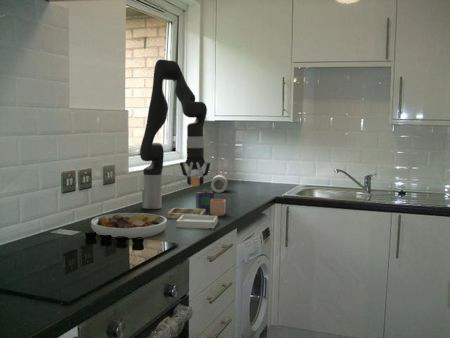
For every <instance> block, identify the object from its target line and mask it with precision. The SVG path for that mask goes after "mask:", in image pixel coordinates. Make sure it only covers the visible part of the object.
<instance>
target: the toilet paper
mask: <svg viewBox="0 0 450 338" xmlns="http://www.w3.org/2000/svg"><path fill="white" fill-rule="evenodd" d="M216 181H221V182H222V183H223V185H222V186H221V187H219V186H217V184H216ZM227 187H228V179H227V177H226V176H224V175H222V174H217V175H215V176H214V177H213V178H212V180H211V181H210V188H211V189H212V192H215V193H219V194H220V193H223V192H224V191H226V189H227Z"/></svg>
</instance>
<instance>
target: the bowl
mask: <svg viewBox="0 0 450 338" xmlns="http://www.w3.org/2000/svg"><path fill="white" fill-rule="evenodd" d="M167 219H168V218H167V217H164V216H162V215H160V214H159V215H158V214H153V213H146V212H145V213H144V212H141V213H140V212H123V213H111V214H104V215H100V216H97V217H94V218H92V220H90V226H91V229H92V231H93V232H94V233H95V232H96V234H97V235H98V236H100V235H111V236H112V237H117V236H125V237H128V238H136V237H142V238H141V239H144V238H149V237H154V236H157V235H159V234H161V233H162V232H163V231H164V230H165V229H166V227H167V224H168V223H167V222H168V220H167Z"/></svg>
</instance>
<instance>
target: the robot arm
mask: <svg viewBox="0 0 450 338" xmlns="http://www.w3.org/2000/svg"><path fill="white" fill-rule="evenodd" d="M165 80H167V81H173V82H174V83H175V86H174V93H175V96H176V98H177V99H178V100H179V102H180V104H181V108H182V112H183V113H182V114H183V115H184V116H185V117H187V118H193V119H194V120H195V121H194V122H191V123H188V124H187V126H186V131H187V132H186V159H185V161H181V162H180V163H179V165H180V168H181V172H182V175H183V176H185V177H187V178H186V181H187V183H186V184H188V186H192V185H191V183H190V180H191V178H192V177H191V175H192V172H193V170H197V171H198V172H199V179H200V184H199V186H203V184H204V177H205V176H208V173H209V171H210V167H211V162H210V161H209V162H208V161H205V160H206V159H205V158H204V157H205V151H204V150H205V144H204V125H205V120H206V118H207V114H208V108H207V104H205V102H203V101H196V96H195V94H194V93H193V91H192V89H191V88H190V87H189V85H188V83H187V81H186V78H185V76H184V74H183V72H182V70H181V66H180V65H179V64H178V62H177V61H175V60H168V59H158V60H156V62H155V65H154V70H153V81H152V89H151V96H150V102H149V106H148V111H147V112H148V113H147V118H146V123H145V124H146V125H145V128H144V134H143V137H142V140H141V145H140V149H139V155H140V159H141V160H142V161H143V162H151V164H149V165H148V166H147V167H145V168H144V169H143V176H142V177H143V178H142V179H143V182H142V183H143V188H142V190H141V191H142V192H141V197H142V198H141V199H142V200H141V201H142V202H141V205H142V206H141V207H142V208H141V209H146V210H147V209H148V210H156V209H157V210H159V209H162V201H163V199H162V197H163V195H162V192H163V191H162V190H163V189H162V188H163V187H162V184H163V182H162V181H163V177H162V175H163V174H162V172H163V170H164V169H163V168H164V158H165V157H164V153H165V151H164V146H163V145H162V143H160V142H154V139H155V137H156V136H157V133H158V132H159V131H160V130H161V128H162V127H163V126H164V124H165V123H166V120H167V116H168V111H169V104H168V102H167V101H168V100H167V99H166V96H165V93H164V90H163V87H164V85H163V83H164V81H165ZM204 165H205V171H204V172H203V166H204ZM186 166H187V167H189V168H188V169H187V170H186Z"/></svg>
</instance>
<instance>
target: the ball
mask: <svg viewBox="0 0 450 338" xmlns="http://www.w3.org/2000/svg"><path fill="white" fill-rule="evenodd" d="M190 183H191V185H190V186H193V187H199V186H200V176H199V177H198V176H192V177H191V180H190Z"/></svg>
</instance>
